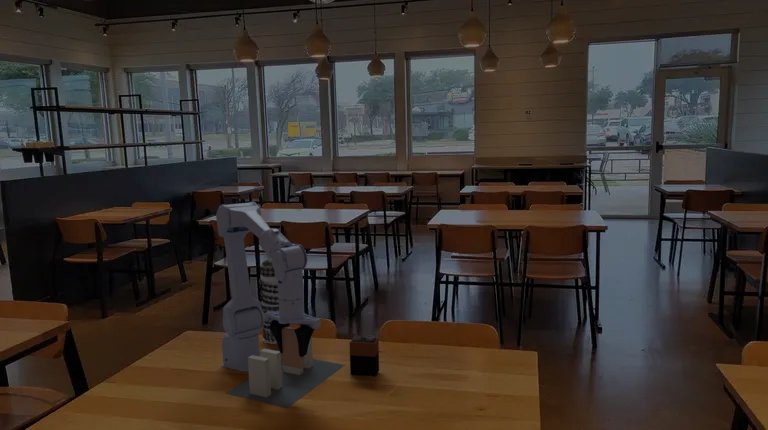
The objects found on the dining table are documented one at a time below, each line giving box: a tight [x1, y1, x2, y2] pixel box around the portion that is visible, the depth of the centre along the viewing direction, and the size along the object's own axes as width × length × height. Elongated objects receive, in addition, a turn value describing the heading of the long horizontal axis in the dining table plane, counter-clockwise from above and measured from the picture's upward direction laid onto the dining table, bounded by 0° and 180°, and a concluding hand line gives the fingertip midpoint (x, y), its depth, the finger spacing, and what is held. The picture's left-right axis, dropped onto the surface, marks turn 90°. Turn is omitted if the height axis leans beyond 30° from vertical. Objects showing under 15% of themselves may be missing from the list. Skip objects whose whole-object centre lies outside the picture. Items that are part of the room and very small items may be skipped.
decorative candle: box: [258, 257, 291, 345], centre depth 169 cm, size 9×9×25 cm
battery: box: [349, 335, 380, 378], centre depth 144 cm, size 4×7×10 cm, turn 79°
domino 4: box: [283, 365, 303, 375], centre depth 145 cm, size 2×5×9 cm, turn 64°
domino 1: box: [248, 355, 271, 397], centre depth 133 cm, size 2×5×9 cm, turn 64°
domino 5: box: [304, 335, 314, 368], centre depth 149 cm, size 2×5×9 cm, turn 64°
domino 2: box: [259, 348, 282, 389], centre depth 137 cm, size 2×5×9 cm, turn 64°
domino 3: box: [282, 326, 305, 369], centre depth 132 cm, size 2×5×9 cm, turn 64°
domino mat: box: [225, 358, 346, 409], centre depth 142 cm, size 18×26×1 cm
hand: (293, 353), depth 132 cm, fingers closed on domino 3, 5 cm apart
